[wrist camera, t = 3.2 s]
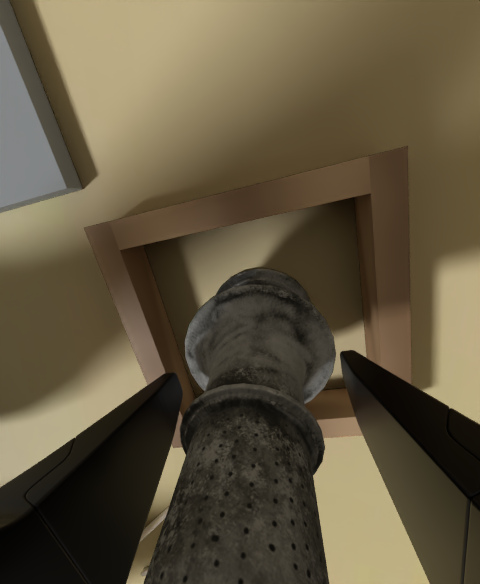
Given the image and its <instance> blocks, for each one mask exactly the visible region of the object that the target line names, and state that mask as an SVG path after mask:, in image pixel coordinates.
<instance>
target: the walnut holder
mask: <svg viewBox="0 0 480 584" xmlns="http://www.w3.org/2000/svg"><path fill="white" fill-rule="evenodd" d="M352 197H354V204H355V216H356V229H357V241H358V254H359V266H360V279H361V291H362V304H363V316H364V328H365V341H366V353H367V359H369V360H371V361H373V362H374V363H376V364H378V365H379V366H381V367H383V368H384V369H386V370H388V371H389V372H391V373H393V374H395V375H396V376H398V377H400V378H401V379H403V380H405V381H406V382H408V383H410V384H412V376H411V318H410V260H409V202H408V146H406V147H402V148H398V149H394V150H390V151H386V152H382V153H378V154H374V155H370V156H366V157H362V158H358V159H354V160H350V161H346V162H342V163H338V164H334V165H331V166H327V167H323V168H319V169H315V170H311V171H307V172H303V173H299V174H295V175H291V176H287V177H283V178H279V179H275V180H271V181H267V182H263V183H259V184H255V185H251V186H247V187H243V188H239V189H235V190H232V191H228V192H224V193H220V194H216V195H212V196H208V197H204V198H200V199H196V200H192V201H188V202H184V203H180V204H176V205H172V206H168V207H164V208H160V209H156V210H152V211H148V212H144V213H140V214H136V215H133V216H129V217H125V218H121V219H117V220H113V221H109V222H105V223H101V224H97V225H93V226H89V227H85V228H84V230H85V232H86V235H87V237H88V240H89V242H90V245H91V247H92V249H93V252H94V254H95V257H96V259H97V262H98V264H99V267H100V269H101V272H102V274H103V276H104V279H105V281H106V284H107V286H108V289H109V291H110V294H111V296H112V299H113V301H114V304H115V306H116V308H117V311H118V313H119V316H120V318H121V321H122V323H123V326H124V328H125V331H126V333H127V335H128V338H129V340H130V343H131V345H132V348H133V350H134V353H135V355H136V358H137V360H138V363H139V365H140V367H141V370H142V372H143V375H144V377H145V380H146V382H147V385H149V384H150V383H152V382H153V381H154V380H156V379H157V378H159V377H160V376H161V375H163V374H164V373H170V372H175V373H176V374H177V376H178V378H179V381H180V384H181V387H182V390H183V398H182V402H181V407H180V411H179V416H178V421H177V425H176V430H175V434H174V437H173V441H172V446H173V448H179V447H182V444H181V441H180V425H181V422H182V418H183V415H184V413H185V411H186V410H187V408H188V407H189V406H190V404H191V403H192V402H193V400H195V399H196V398H195V395H194V393H193V390H192V387H191V384H190V381H189V378H188V375H187V372H186V369H185V366H184V363H183V360H182V358H181V355H180V352H179V349H178V346H177V343H176V340H175V337H174V334H173V331H172V328H171V325H170V323H169V320H168V317H167V314H166V311H165V308H164V305H163V302H162V299H161V296H160V293H159V290H158V288H157V285H156V282H155V279H154V276H153V273H152V270H151V267H150V264H149V261H148V258H147V255H146V253H145V250H144V247H143V245H145V244H149V243H153V242H158V241H162V240H167V239H171V238H175V237H180V236H184V235H189V234H193V233H197V232H202V231H206V230H211V229H215V228H219V227H224V226H228V225H233V224H237V223H242V222H246V221H250V220H255V219H259V218H264V217H268V216H272V215H277V214H281V213H286V212H290V211H294V210H299V209H303V208H308V207H312V206H316V205H321V204H325V203H330V202H334V201H338V200H343V199H347V198H352ZM305 407H306V408H307V409H308V410H309V411H310V412H311V413H312V414H313V415H314V417H315V419H316V421H317V422H318V424H319V426H320V428H321V430H322V434H323V438H332V437H347V436H362V435H363V434H362V432H361V430H360V427H359V425H358V422H357V420H356V417H355V414H354V411H353V407H352V404H351V401H350V398H349V395H348V392H347V388H342V389H332V390H322V391H320V392H319V393H318V394H317V395H316V396H315V397H314V398H313V399H312V400H311V401H309V402H307V403H306V404H305Z"/></svg>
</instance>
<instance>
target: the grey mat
mask: <svg viewBox="0 0 480 584" xmlns="http://www.w3.org/2000/svg"><path fill="white" fill-rule="evenodd" d="M82 189H83V188H82V186H81V183H80V181H79V178H78V175H77V173H76V170H75V168H74V165H73V163H72V160H71V158H70V155H69V152H68V150H67V147H66V145H65V142H64V140H63V137H62V134H61V132H60V129H59V127H58V124H57V122H56V119H55V116H54V114H53V111H52V109H51V106H50V104H49V101H48V99H47V96H46V93H45V91H44V88H43V86H42V83H41V81H40V78H39V75H38V73H37V70H36V68H35V65H34V63H33V60H32V57H31V55H30V52H29V50H28V47H27V45H26V42H25V40H24V37H23V34H22V32H21V29H20V27H19V24H18V22H17V19H16V16H15V14H14V11H13V9H12V6H11V4H10V1H9V0H0V213H1V212H4V211H8V210H11V209H15V208H18V207H22V206H26V205H29V204H33V203H36V202H40V201H43V200H47V199H50V198H54V197H57V196H61V195H64V194H68V193H71V192H75V191H78V190H82Z"/></svg>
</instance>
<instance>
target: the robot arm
mask: <svg viewBox="0 0 480 584" xmlns="http://www.w3.org/2000/svg"><path fill="white" fill-rule="evenodd" d="M340 358H341V367H342V374H343V379H344V382H345V385H346V388H347V392H348V395H349V398H350V401H351V404H352V407H353V411H354V414H355V417H356V420H357V422H358V425H359V427H360V430H361V432H362V434H363V436H364V438H365V441H366V443H367V445H368V447H369V450H370V452H371V454H372V456H373V458H374V461H375V463H376V465H377V467H378V469H379V472H380V474H381V476H382V478H383V481H384V483H385V485H386V487H387V489H388V492H389V494H390V496H391V498H392V501H393V503H394V505H395V507H396V509H397V512H398V514H399V516H400V518H401V520H402V523H403V525H404V527H405V529H406V532H407V534H408V536H409V538H410V540H411V543H412V545H413V547H414V549H415V551H416V554H417V556H418V558H419V560H420V563H421V565H422V567H423V569H424V571H425V574H426V576H427V578H428V580H429V582H430V584H480V424H478V423H477V422H475V421H473V420H471V419H469V418H468V417H466V416H464V415H463V414H461V413H459V412H458V411H456V410H454V409H452V408H450V409H449V406H447V405H445V404H444V403H442V402H440V401H439V400H437V399H435V398H434V397H432V396H430V395H428V394H427V393H425V392H423V391H422V390H420V389H418V388H417V387H415V386H413V385H412V384H410V383H408V382H406V381H405V380H403V379H401V378H400V377H398V376H396V375H395V374H393V373H391V372H389V371H388V370H386V369H384V368H383V367H381V366H379V365H378V364H376V363H374V362H373V361H371V360H369V359H367V358H366V357H364V356H362V355H361V354H359V353H357V352H356V351H354V350H349V351H342V352H341V353H340ZM182 398H183V390H182V387H181V384H180V381H179V378H178V376H177V374H176V373H175V372H170V373H164V374H163V375H161V376H160V377H159V378H157V379H156V380H154V381H153V382H152V383H150V384H149V385H147V386H146V387H145V388H143V389H142V390H140V391H139V392H138V393H136V394H135V395H133V396H132V397H131V398H129V399H128V400H126V401H125V402H124V403H122V404H121V405H119V406H118V407H117V408H115V409H114V410H112V411H111V412H109V413H108V414H107V415H105V416H104V417H102V418H101V419H100V420H98V421H97V422H95V423H94V424H93V425H91V426H90V427H88V428H87V429H86V430H84V431H83V432H81V433H80V434H79V435H77V436H76V438H73V439H72V440H70V441H69V442H67V443H66V444H65V445H63V446H62V447H60V448H59V449H57V450H56V451H55V452H53V453H52V454H50V455H49V456H47V457H46V458H44V459H43V460H41V461H40V462H38V463H37V464H35V465H34V466H32V467H31V468H29V469H28V470H26V471H25V472H23V473H22V474H20V475H19V476H17V477H16V478H14V479H13V480H11V481H10V482H8V483H7V484H5V485H3V486H2V487H0V584H126V582H127V579H128V576H129V573H130V570H131V566H132V563H133V560H134V557H135V554H136V551H137V548H138V545H139V542H140V539H141V536H142V533H143V530H144V527H145V524H146V521H147V517H148V514H149V511H150V508H151V505H152V502H153V499H154V496H155V493H156V490H157V487H158V484H159V481H160V478H161V475H162V471H163V468H164V465H165V462H166V459H167V456H168V453H169V450H170V447H171V444H172V441H173V437H174V434H175V430H176V425H177V421H178V416H179V411H180V407H181V402H182Z"/></svg>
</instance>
